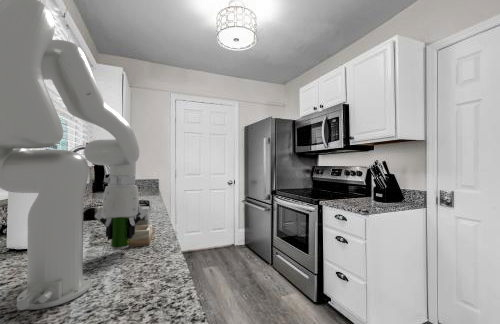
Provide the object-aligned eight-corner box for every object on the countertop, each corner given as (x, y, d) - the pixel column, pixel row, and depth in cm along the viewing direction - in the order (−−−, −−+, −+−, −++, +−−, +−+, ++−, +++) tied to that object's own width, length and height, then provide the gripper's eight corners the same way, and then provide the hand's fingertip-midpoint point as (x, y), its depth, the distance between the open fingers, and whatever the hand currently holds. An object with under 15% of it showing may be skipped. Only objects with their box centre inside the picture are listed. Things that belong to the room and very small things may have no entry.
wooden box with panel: (149, 245, 84) (149, 213, 84) (120, 247, 82) (121, 215, 82) (154, 232, 99) (154, 206, 99) (130, 234, 97) (130, 207, 97)
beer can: (111, 250, 73) (112, 211, 74) (110, 246, 77) (111, 209, 78) (130, 247, 76) (131, 209, 77) (128, 243, 80) (129, 207, 81)
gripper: (87, 182, 72) (85, 243, 71) (149, 181, 77) (147, 239, 76) (96, 181, 79) (94, 237, 78) (152, 181, 84) (150, 233, 83)
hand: (120, 237), depth 77 cm, fingers closed on beer can, 5 cm apart
